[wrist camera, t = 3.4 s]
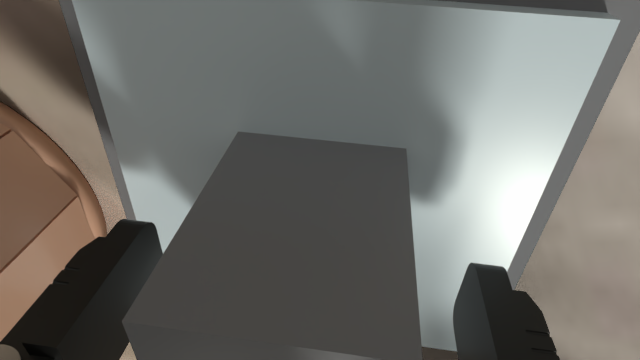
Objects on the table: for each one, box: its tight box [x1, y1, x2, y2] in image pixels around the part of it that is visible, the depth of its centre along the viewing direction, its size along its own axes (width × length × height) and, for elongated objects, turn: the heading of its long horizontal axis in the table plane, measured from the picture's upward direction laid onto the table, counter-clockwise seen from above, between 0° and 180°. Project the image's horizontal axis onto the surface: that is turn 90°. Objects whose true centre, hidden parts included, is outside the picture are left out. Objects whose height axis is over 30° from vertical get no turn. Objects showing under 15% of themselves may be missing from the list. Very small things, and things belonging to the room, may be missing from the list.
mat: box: [59, 0, 640, 290], centre depth 13 cm, size 14×14×1 cm
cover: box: [72, 0, 620, 360], centre depth 10 cm, size 12×12×7 cm
